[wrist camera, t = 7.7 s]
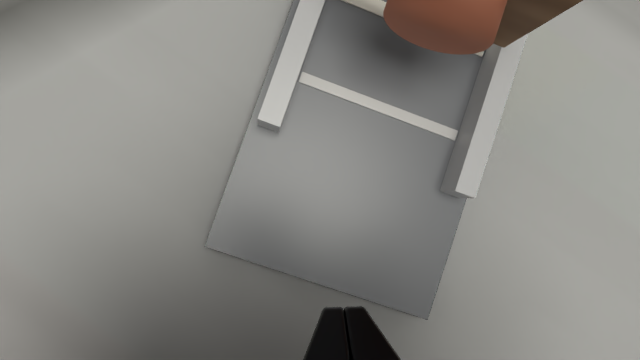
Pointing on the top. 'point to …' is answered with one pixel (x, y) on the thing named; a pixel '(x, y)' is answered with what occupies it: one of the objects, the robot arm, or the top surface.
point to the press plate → (469, 22)
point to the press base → (362, 155)
